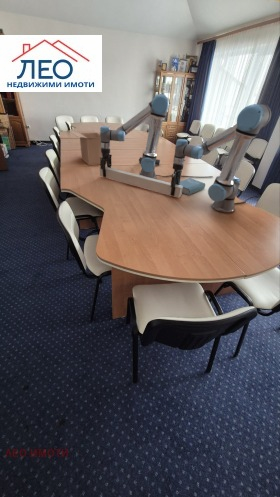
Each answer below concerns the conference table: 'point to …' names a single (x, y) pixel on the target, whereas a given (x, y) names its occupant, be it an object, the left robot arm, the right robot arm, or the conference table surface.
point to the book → (191, 186)
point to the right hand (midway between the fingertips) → (173, 194)
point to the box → (90, 146)
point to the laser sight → (155, 162)
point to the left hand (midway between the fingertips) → (106, 176)
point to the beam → (141, 181)
